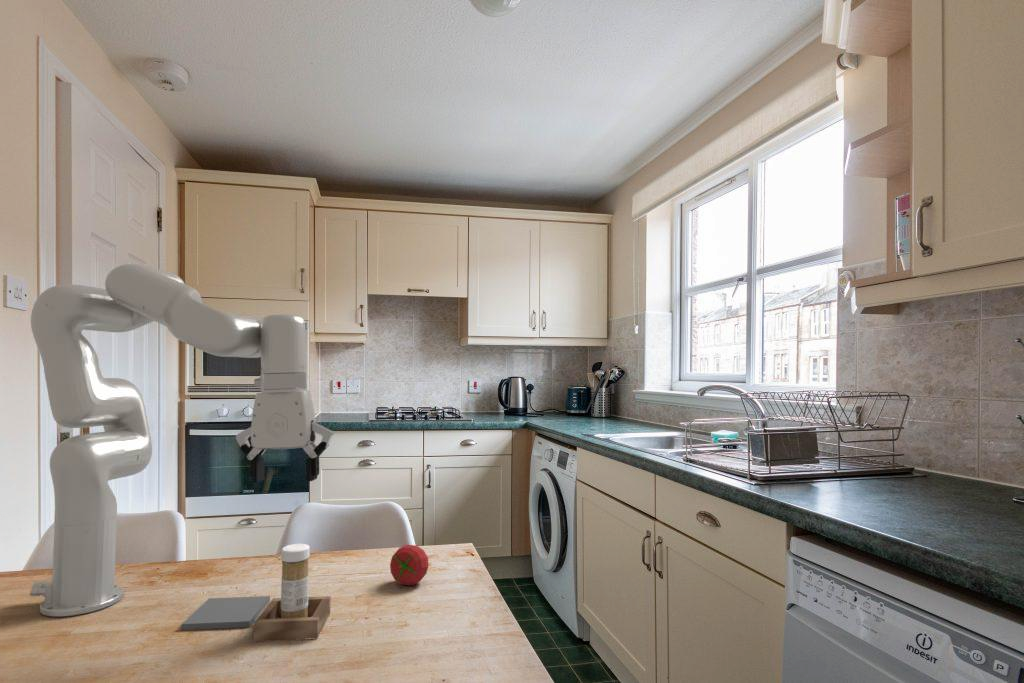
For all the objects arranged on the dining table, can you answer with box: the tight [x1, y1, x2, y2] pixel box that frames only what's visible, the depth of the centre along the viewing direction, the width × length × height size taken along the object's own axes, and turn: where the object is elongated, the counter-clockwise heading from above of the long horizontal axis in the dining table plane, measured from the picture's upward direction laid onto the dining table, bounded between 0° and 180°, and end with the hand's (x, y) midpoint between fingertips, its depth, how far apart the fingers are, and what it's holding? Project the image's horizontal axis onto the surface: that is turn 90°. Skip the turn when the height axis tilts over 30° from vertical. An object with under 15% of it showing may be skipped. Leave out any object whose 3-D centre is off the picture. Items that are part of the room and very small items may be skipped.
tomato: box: [389, 544, 430, 586], centre depth 118 cm, size 8×8×8 cm
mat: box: [180, 595, 271, 631], centre depth 103 cm, size 11×11×1 cm
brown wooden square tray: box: [253, 595, 332, 643], centre depth 98 cm, size 10×10×3 cm
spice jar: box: [280, 543, 311, 618], centre depth 98 cm, size 5×5×14 cm
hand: (285, 480), depth 101 cm, fingers open, 9 cm apart
